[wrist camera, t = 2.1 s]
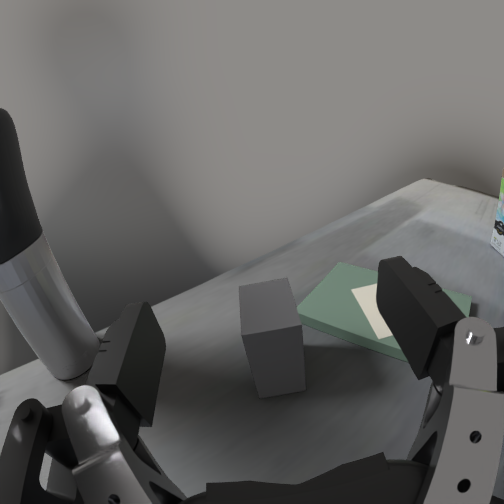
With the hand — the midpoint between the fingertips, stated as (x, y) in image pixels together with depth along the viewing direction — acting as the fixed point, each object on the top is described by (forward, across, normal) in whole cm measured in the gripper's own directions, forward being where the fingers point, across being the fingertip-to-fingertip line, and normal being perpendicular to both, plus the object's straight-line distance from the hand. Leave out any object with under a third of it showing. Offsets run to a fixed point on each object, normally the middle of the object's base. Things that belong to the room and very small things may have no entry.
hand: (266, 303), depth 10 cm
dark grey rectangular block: (+11, 0, +18) cm, 21 cm away
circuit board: (+15, -14, +18) cm, 28 cm away
